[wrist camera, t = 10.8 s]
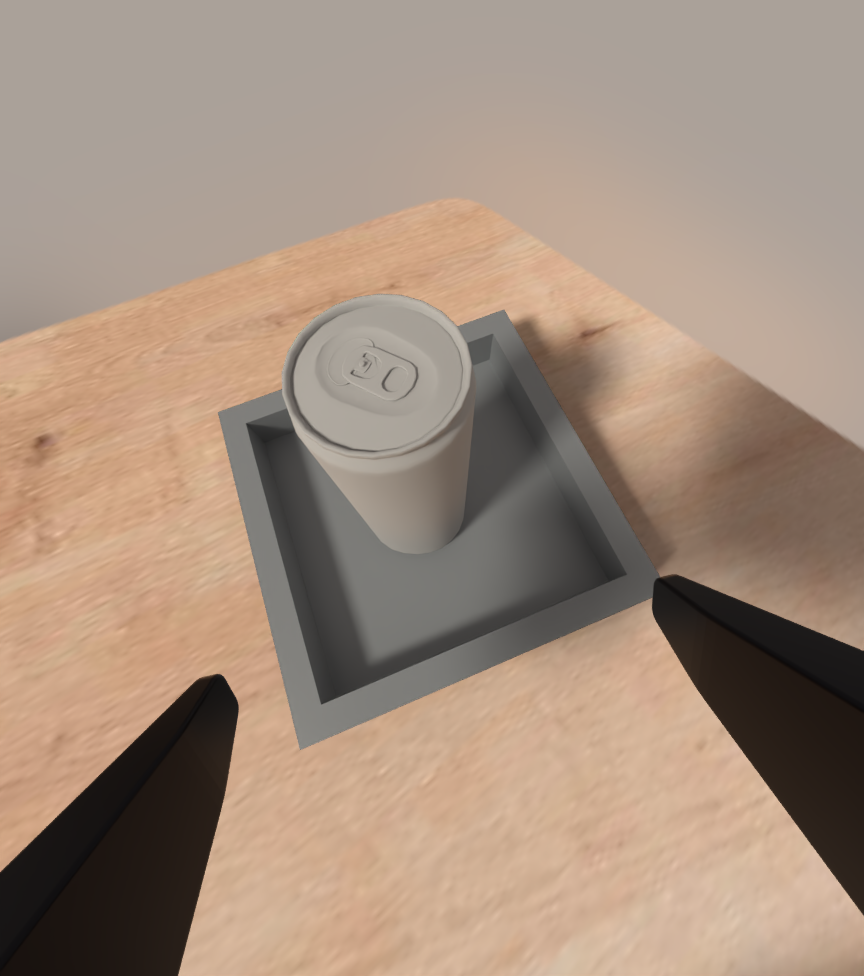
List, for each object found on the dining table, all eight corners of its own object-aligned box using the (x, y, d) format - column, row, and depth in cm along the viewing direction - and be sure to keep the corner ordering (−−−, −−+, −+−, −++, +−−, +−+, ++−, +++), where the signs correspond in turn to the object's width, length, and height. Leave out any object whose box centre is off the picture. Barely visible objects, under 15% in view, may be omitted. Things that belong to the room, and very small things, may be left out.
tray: (637, 596, 20) (668, 590, 17) (323, 732, 19) (300, 750, 16) (498, 346, 25) (504, 309, 22) (245, 438, 24) (217, 412, 21)
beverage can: (401, 452, 22) (346, 264, 11) (481, 492, 21) (513, 331, 10) (353, 529, 21) (234, 406, 10) (435, 575, 20) (413, 500, 9)
